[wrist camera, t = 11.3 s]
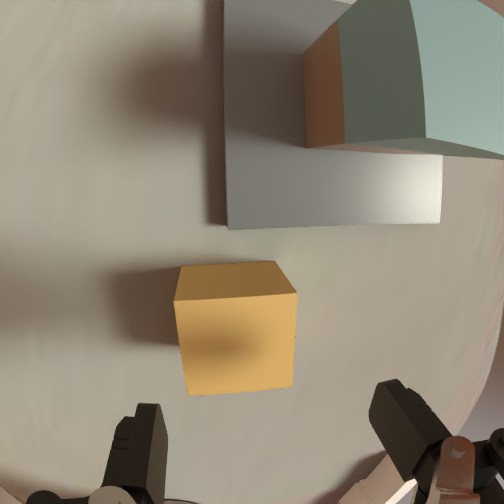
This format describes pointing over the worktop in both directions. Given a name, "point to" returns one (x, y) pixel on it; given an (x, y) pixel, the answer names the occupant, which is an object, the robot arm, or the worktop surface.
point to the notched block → (379, 486)
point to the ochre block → (235, 327)
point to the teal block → (424, 76)
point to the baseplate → (306, 129)
